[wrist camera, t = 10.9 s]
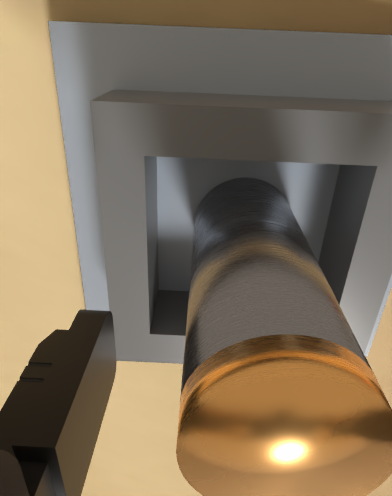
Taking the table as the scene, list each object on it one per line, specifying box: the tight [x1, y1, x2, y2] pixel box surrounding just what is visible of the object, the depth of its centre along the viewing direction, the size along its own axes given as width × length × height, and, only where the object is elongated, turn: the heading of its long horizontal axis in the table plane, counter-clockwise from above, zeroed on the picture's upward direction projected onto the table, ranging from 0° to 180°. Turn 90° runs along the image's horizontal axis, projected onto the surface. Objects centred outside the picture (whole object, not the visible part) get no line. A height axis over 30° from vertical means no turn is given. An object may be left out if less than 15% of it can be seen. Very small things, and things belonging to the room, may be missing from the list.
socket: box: [48, 21, 392, 364], centre depth 15 cm, size 14×14×4 cm
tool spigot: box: [176, 177, 392, 496], centre depth 11 cm, size 4×4×10 cm
